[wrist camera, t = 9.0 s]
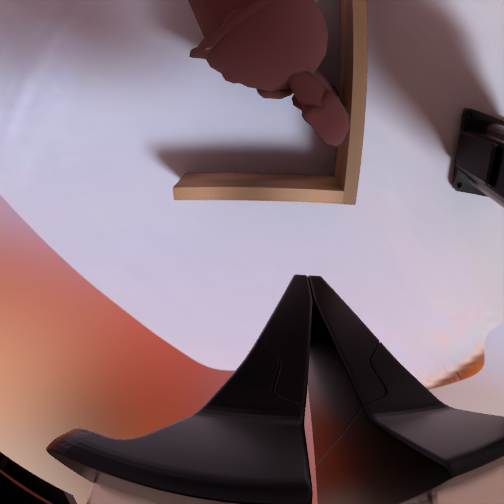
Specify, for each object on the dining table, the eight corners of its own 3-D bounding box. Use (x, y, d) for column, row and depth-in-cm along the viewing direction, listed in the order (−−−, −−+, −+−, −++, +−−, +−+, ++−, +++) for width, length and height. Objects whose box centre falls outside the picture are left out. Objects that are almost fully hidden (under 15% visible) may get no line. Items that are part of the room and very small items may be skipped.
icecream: (85, -10, 8) (277, 190, 14) (194, -114, 3) (412, 122, 10) (152, -10, 12) (290, 138, 19) (235, -77, 8) (382, 88, 15)
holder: (345, -73, 8) (355, -91, 6) (344, 188, 19) (355, 204, 17) (185, -74, 9) (173, -92, 6) (186, 184, 20) (174, 200, 17)
